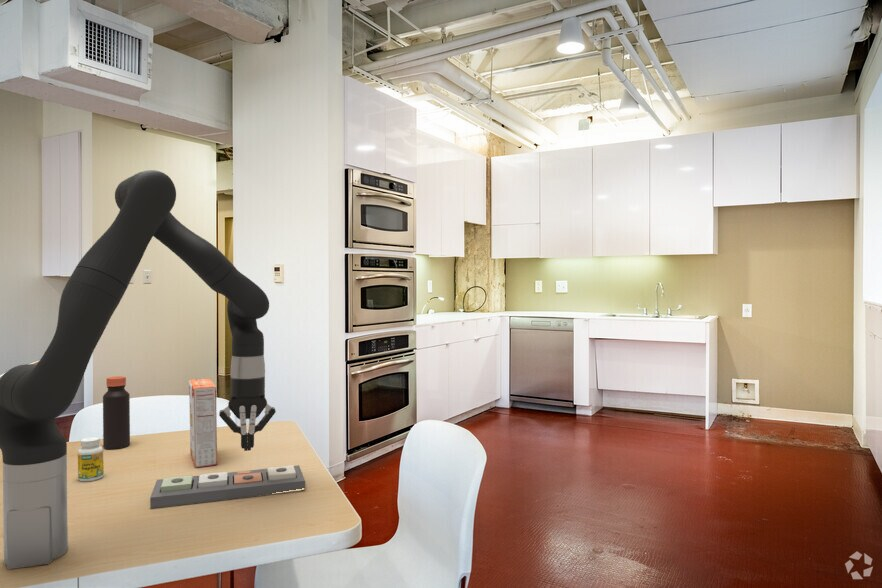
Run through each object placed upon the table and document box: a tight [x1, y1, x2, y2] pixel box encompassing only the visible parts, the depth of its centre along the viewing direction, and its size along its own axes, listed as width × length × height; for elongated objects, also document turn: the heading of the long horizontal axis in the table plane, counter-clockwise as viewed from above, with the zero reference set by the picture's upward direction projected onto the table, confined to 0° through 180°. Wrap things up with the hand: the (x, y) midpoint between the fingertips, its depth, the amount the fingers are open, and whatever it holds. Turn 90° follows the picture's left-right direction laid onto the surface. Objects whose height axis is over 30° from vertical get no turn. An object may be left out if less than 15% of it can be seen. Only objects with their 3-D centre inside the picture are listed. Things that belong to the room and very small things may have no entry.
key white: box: [198, 471, 228, 488], centre depth 134 cm, size 6×6×2 cm
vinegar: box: [102, 375, 131, 450], centre depth 171 cm, size 7×7×20 cm
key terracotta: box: [234, 472, 262, 485], centre depth 137 cm, size 6×6×2 cm
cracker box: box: [188, 378, 218, 469], centre depth 158 cm, size 14×6×21 cm, turn 27°
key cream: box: [266, 464, 296, 481], centre depth 139 cm, size 6×6×2 cm
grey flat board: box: [149, 464, 306, 509], centre depth 135 cm, size 12×32×2 cm, turn 110°
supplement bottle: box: [77, 436, 105, 482], centre depth 143 cm, size 5×5×10 cm
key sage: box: [161, 475, 194, 492], centre depth 132 cm, size 6×6×2 cm
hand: (247, 449), depth 136 cm, fingers closed
